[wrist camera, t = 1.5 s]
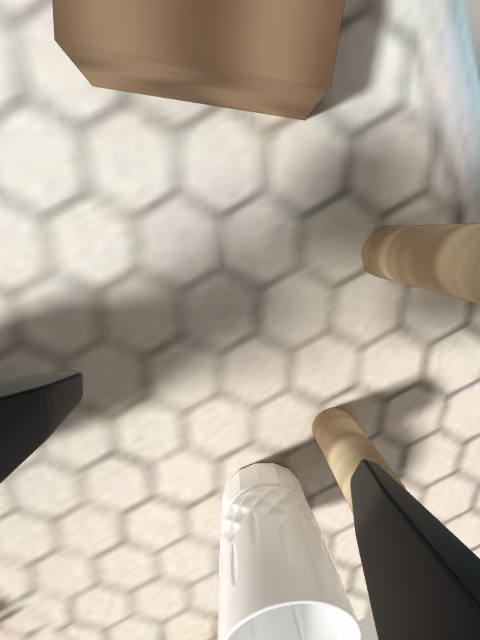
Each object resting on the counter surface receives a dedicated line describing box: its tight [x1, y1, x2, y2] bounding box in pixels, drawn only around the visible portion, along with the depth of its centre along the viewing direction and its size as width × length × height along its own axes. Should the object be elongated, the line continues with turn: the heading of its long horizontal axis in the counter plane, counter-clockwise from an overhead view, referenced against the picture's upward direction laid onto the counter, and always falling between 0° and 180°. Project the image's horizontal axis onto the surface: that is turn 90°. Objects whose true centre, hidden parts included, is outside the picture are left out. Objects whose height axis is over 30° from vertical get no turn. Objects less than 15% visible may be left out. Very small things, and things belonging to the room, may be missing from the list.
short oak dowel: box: [312, 408, 405, 513], centre depth 20 cm, size 3×3×7 cm
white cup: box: [218, 463, 362, 640], centre depth 20 cm, size 8×8×10 cm
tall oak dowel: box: [362, 223, 480, 304], centre depth 13 cm, size 3×3×14 cm
